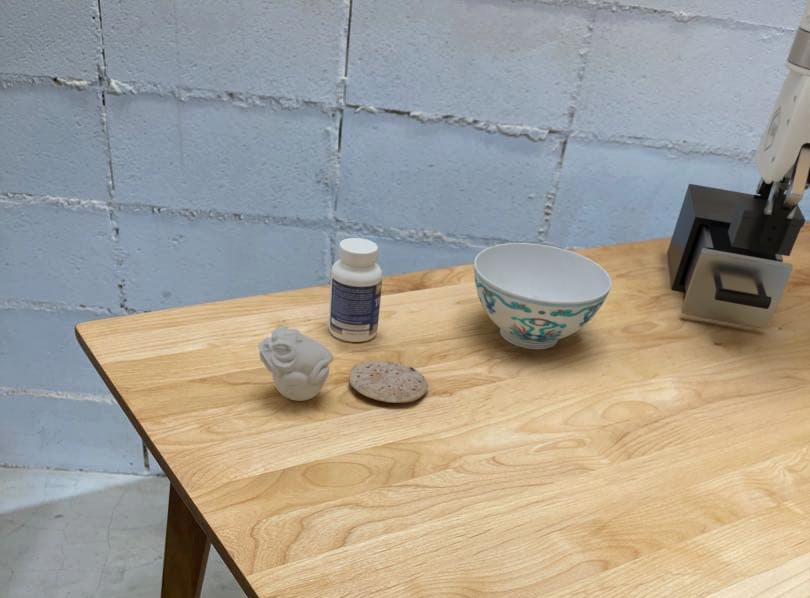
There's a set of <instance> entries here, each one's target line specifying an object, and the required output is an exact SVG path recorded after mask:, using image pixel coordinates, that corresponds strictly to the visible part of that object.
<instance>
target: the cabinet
mask: <svg viewBox="0 0 810 598" xmlns="http://www.w3.org/2000/svg"><path fill="white" fill-rule="evenodd" d="M754 195H755V194H752V193H746V192H741V191H735V190H728V189H723V188H716V187H711V186H705V185H700V184H693V183H688V186H687V189H686V193H685V195H684V199H683V202H682V205H681V208H680V210H679V214H678V218H677V221H676V224H675V227H674V230H673V233H672V236H671V239H670V243H669V246H668V249H667V262H668V270H669V271H668V272H669V279H670V280H669V281H670V289H671V290H672V291H676V292H682V293H686V291H685V284H684V277H683V272H684V269H685V266H686V263H687V260H688V257H689V254H690V251H691V248H692V245H693V242H694V239H695V236H696V233H697V230H698V227H699V224H702V225H708V226H714V227H720V228H725V229H729V227H730V224H731V222H732V219H733V216H734V213H735V211H736V208H737V205H738V204H737V202H738V199H739V196H743V197H749V198H753V197H754Z"/></svg>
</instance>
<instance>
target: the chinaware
mask: <svg viewBox="0 0 810 598" xmlns="http://www.w3.org/2000/svg"><path fill="white" fill-rule="evenodd" d="M473 274H474V275H473V276H474V283H475V289H476V293H477V297H478V300H479V302H480V304H481V306H482V309H483V310H484V312H485V313H486V315H487V316H488V317H489V319H490V321H492V323H494V325H496V326H497V327H498V328H499V332H500V335H501V337H502V338H503V339H504V340H505V341H507V342H508V343H510V344H512V345H514V346H516V347H520V348H522V349H528V350H546V349H549V348H552V347H554V346H555V345H556V344H557V343H558V341H559V340H561V339H564V338H566V337H568V336H570V335H573V334H575V333H576V332H577V331H579V330H580V329H582V328H583V327H584V326H586V325H587V324H588V323H589V322H590V321H591V320H592V319H593V318H594V317H595V316H596V314H597V313H598V312H599V310H600V309H601V307H602V306H603V304H604V302H605V301H606V299H607V297H608V296H609V293H610V291H611V288H612V284H613V283H612V279H611V277H610V274H609V273H608V272H607V270H605V269H604V268H603V267H602V266H601V265H600V264H598V263H597V262H595V261H594V260H592V259H590V258H588V257H586V256H585V255H582V254H580V253H577V252H574V251H571V250H568V249H566V248H565V249H564V248H562V247H556V246H552V245H548V244H540V243H534V242H533V243H530V242H509V243H501V244H496V245H495V244H494V245H491V246H489V247H486V248H484V249H483V250H481V251H480V252H479V253H478V254H477V255H476V256H475V257H474V262H473Z"/></svg>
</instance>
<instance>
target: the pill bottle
mask: <svg viewBox="0 0 810 598" xmlns="http://www.w3.org/2000/svg"><path fill="white" fill-rule="evenodd" d="M338 246H339V247H338V258H339V259H338V260H336V261H335V262H334V263H333V265H332V267H331V272H330V287H329V288H330V290H329V291H330V293H329V311H328V330H329V333H331V335H333V337H335V338H336V339H339V340H341V341H345V342H350V343H360V342H367V341H371V340H372V339H373V338H374V337H376V335H377V334H378V327H379V318H380V307H381V299H382V285H383V269H382V268H381V266H380V265H379V264H378V263H377V262H378V258H379V257H378V256H379V246H378V245H377V243H376V242H374V241H372V240H370V239H366V238H362V237H350V238H344V239H342V240H341V241H340V242H339V245H338Z"/></svg>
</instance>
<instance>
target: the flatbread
mask: <svg viewBox="0 0 810 598" xmlns="http://www.w3.org/2000/svg"><path fill="white" fill-rule="evenodd" d="M348 382H349V385H350V386H351V387H352V388H353V389H354V390H355V391H356V392H357V393H359V394H360V395H362V396H365V397H366V398H369V399H372V400H376V401H379V402H384V403H391V404H404V403H411V402H415V401H417V400H419V399H421V398H422V397H423V396H424V395H425V394H426V393H427V391H428V388H429V383H428V381H427V379H426V378H425V376H424V375H423V374H422V372H420V371H418V370H417V369H415V368H414V367H412V366H409V365H406V364H400V363H395V362H390V361H382V360H381V361H378V360H372V361H369V362H365V363H359V364H355V365H354V366H353V367H352V370H351V373H350V375H349V379H348Z"/></svg>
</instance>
